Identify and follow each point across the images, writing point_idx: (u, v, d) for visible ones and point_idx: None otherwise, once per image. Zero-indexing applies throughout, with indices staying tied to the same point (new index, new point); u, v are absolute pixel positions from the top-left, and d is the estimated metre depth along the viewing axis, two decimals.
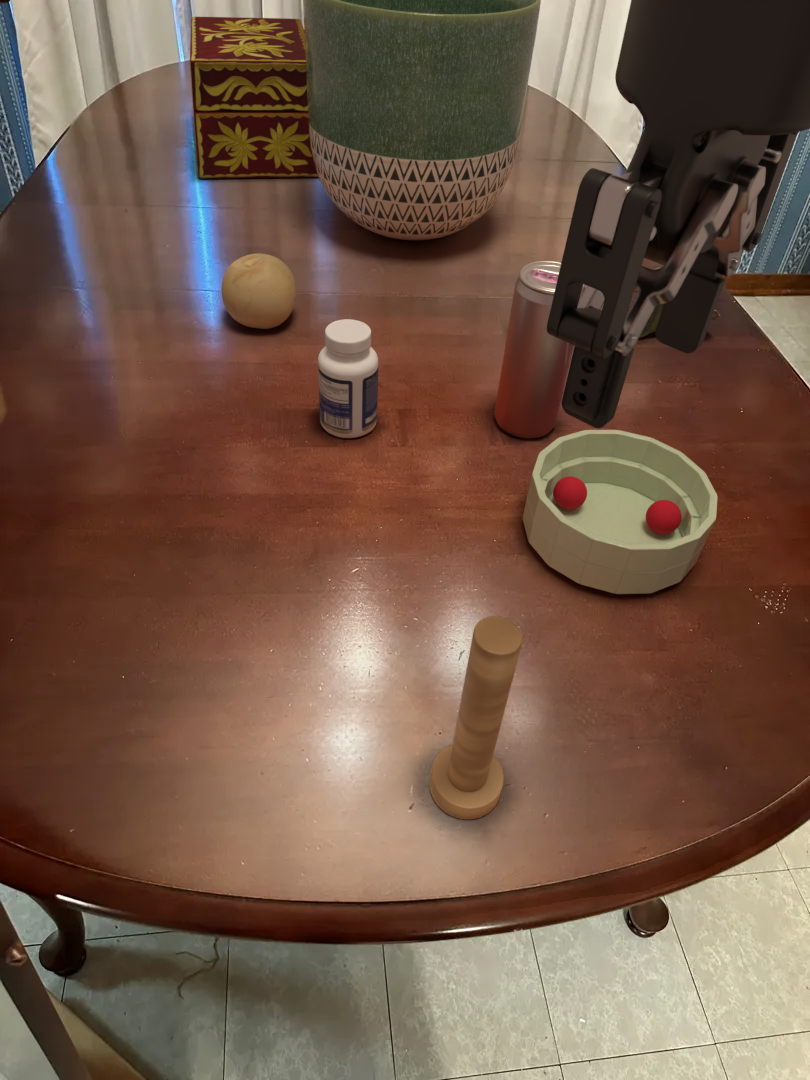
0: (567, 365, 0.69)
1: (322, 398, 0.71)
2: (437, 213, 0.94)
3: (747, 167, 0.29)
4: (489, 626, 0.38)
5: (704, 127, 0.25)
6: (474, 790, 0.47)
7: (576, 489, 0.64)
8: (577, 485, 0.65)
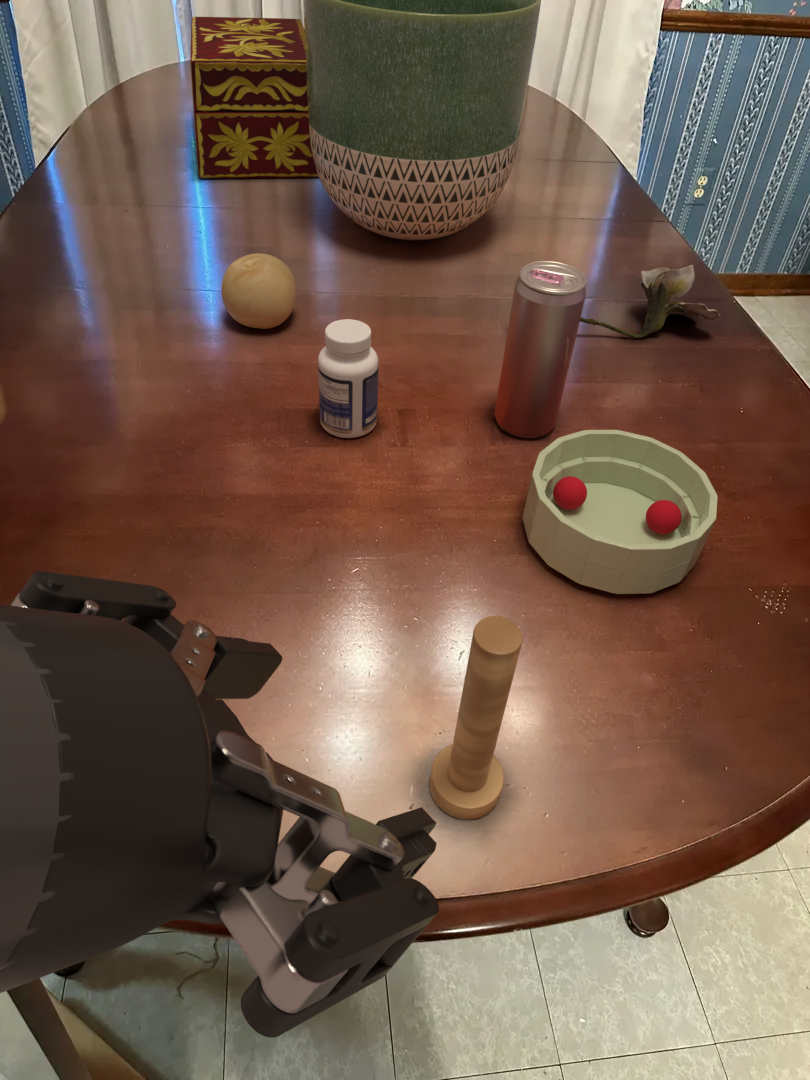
0: (567, 365, 0.69)
1: (322, 398, 0.71)
2: (437, 213, 0.94)
3: None
4: (489, 626, 0.38)
5: (201, 859, 0.17)
6: (474, 790, 0.47)
7: (576, 489, 0.64)
8: (577, 485, 0.65)
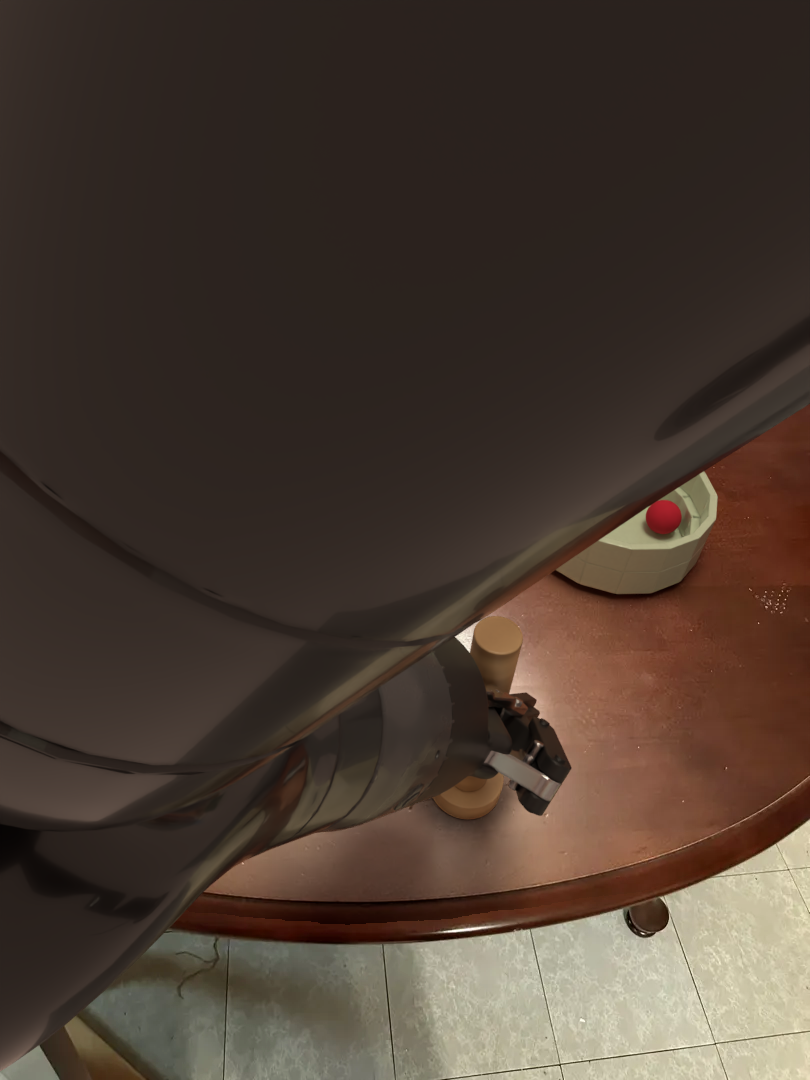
0: None
1: None
2: None
3: None
4: (489, 626, 0.38)
5: (488, 735, 0.31)
6: (474, 790, 0.47)
7: None
8: None
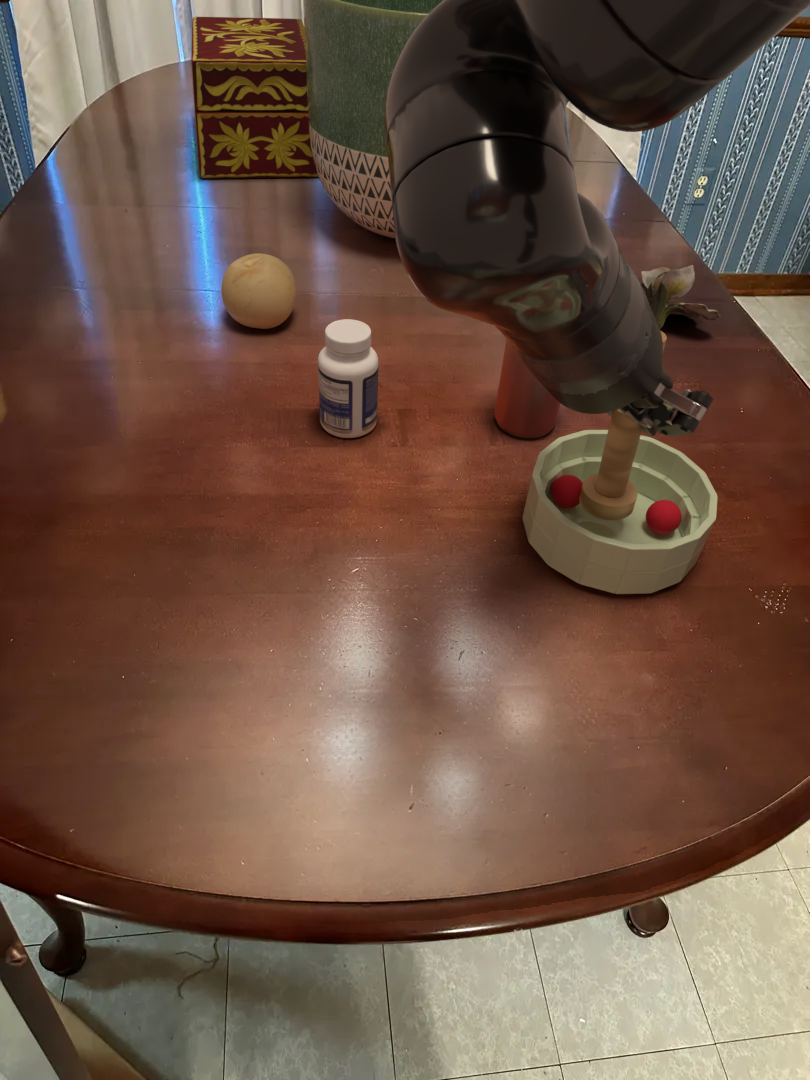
0: None
1: (322, 398, 0.71)
2: None
3: None
4: None
5: None
6: (617, 497, 0.62)
7: (573, 485, 0.65)
8: (573, 481, 0.65)
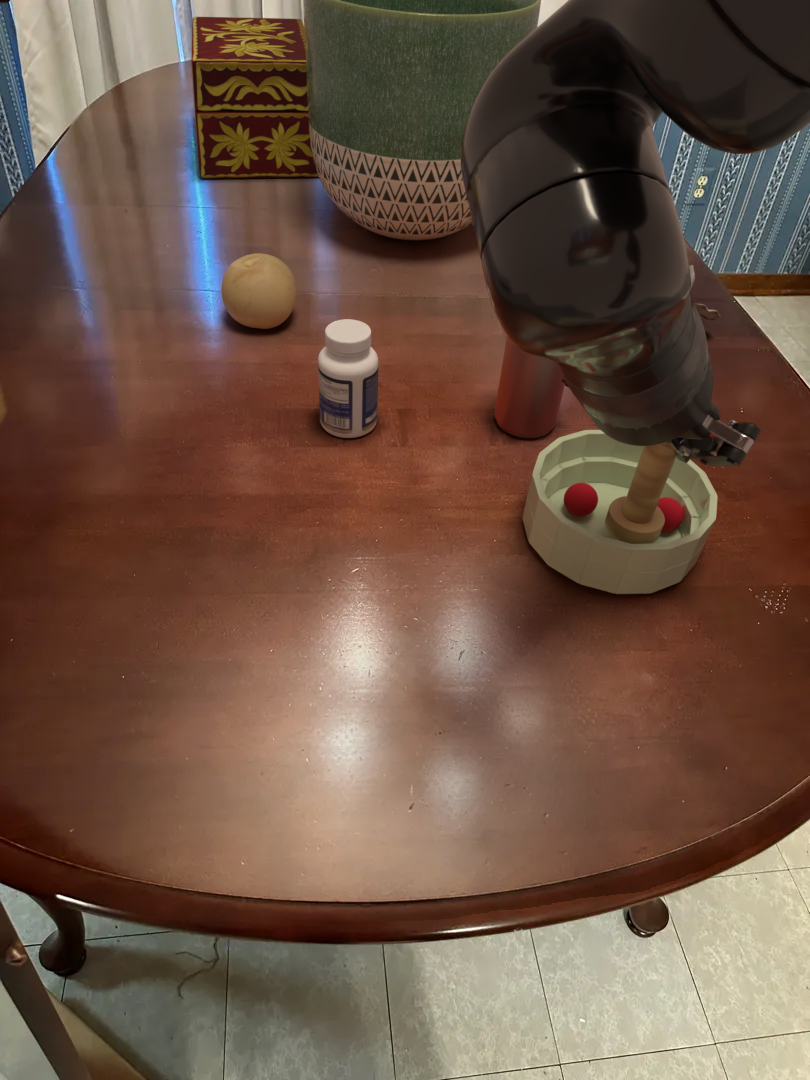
0: None
1: (322, 398, 0.71)
2: (437, 213, 0.94)
3: None
4: None
5: None
6: (645, 522, 0.61)
7: (591, 507, 0.64)
8: (593, 503, 0.64)
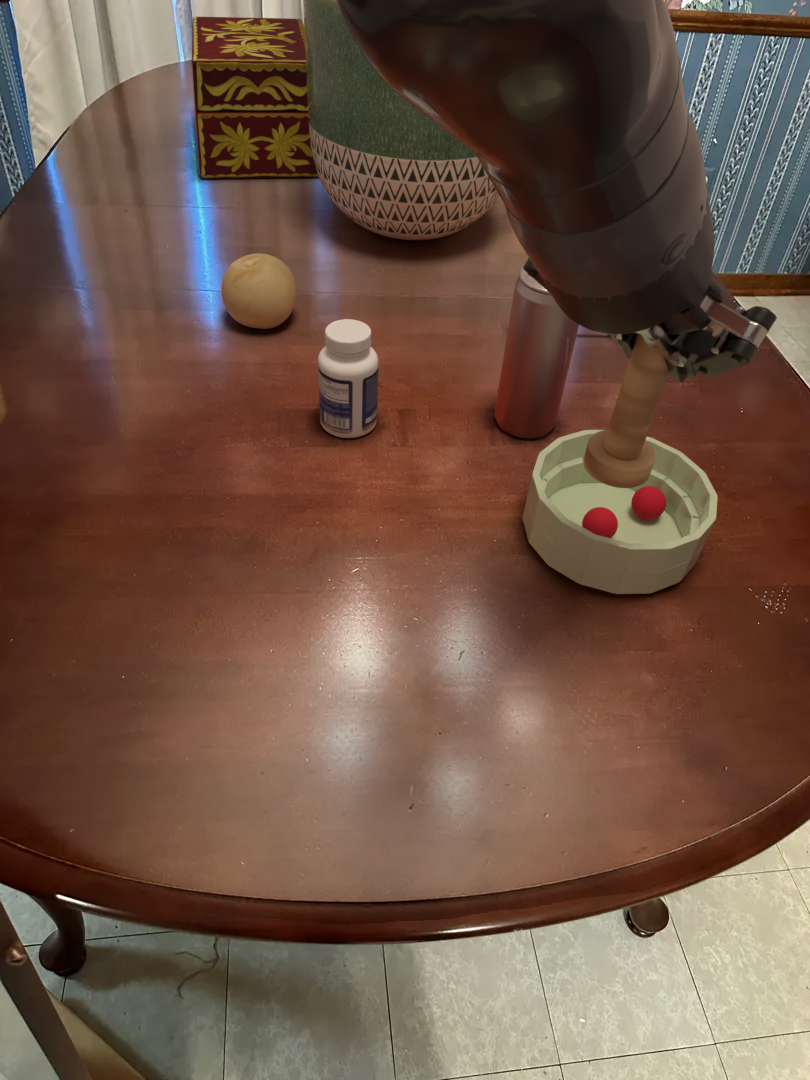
0: (567, 365, 0.69)
1: (322, 398, 0.71)
2: (437, 213, 0.94)
3: None
4: None
5: (712, 263, 0.35)
6: (631, 459, 0.50)
7: None
8: None
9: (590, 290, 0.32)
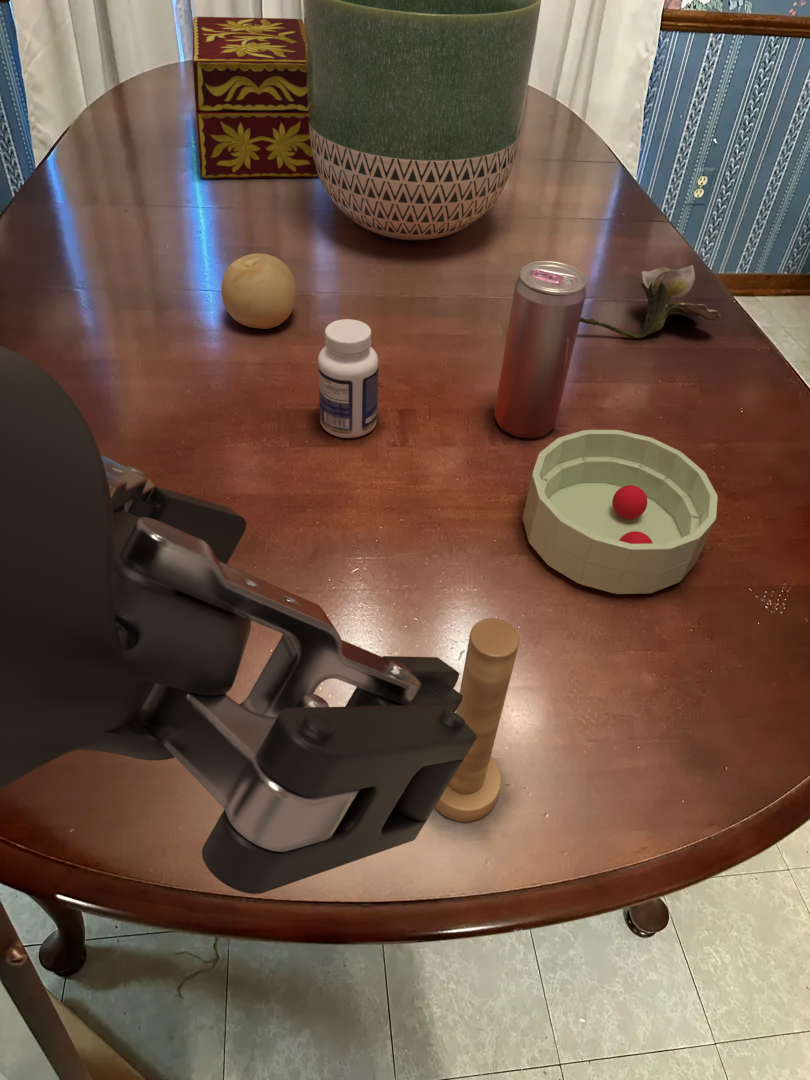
0: (567, 365, 0.69)
1: (322, 398, 0.71)
2: (437, 213, 0.94)
3: None
4: (485, 629, 0.38)
5: (110, 634, 0.11)
6: (472, 792, 0.47)
7: (627, 534, 0.61)
8: (628, 533, 0.61)
9: None
